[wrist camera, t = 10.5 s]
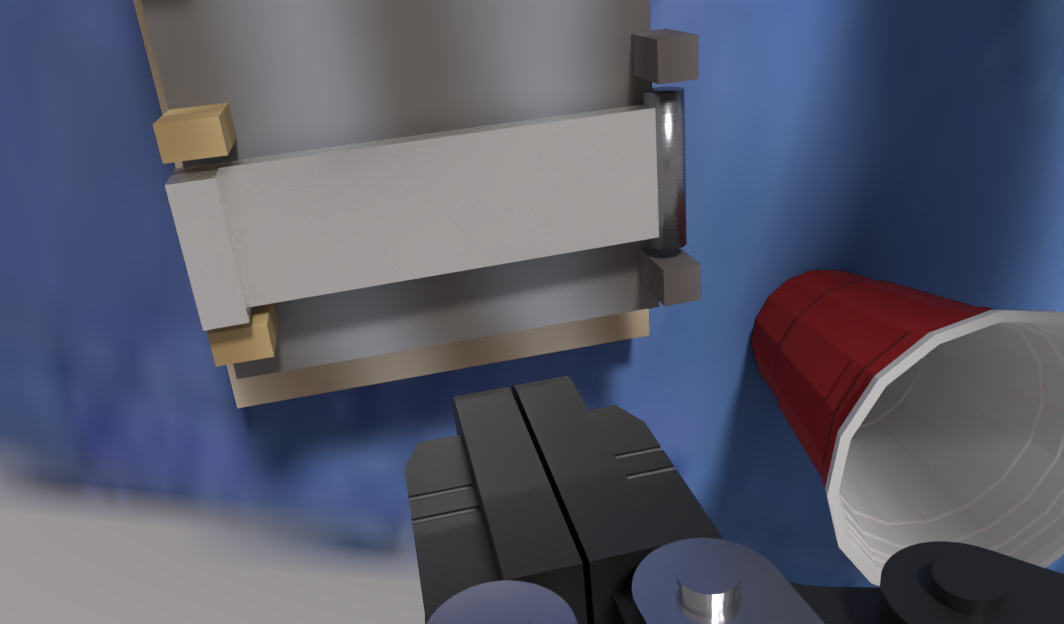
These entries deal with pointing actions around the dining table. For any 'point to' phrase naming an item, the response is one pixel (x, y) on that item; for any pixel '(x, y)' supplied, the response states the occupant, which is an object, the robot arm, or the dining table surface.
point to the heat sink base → (399, 111)
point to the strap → (429, 204)
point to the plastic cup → (921, 414)
